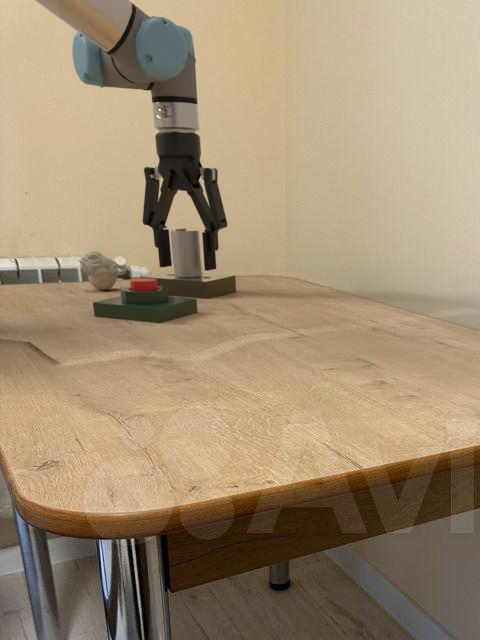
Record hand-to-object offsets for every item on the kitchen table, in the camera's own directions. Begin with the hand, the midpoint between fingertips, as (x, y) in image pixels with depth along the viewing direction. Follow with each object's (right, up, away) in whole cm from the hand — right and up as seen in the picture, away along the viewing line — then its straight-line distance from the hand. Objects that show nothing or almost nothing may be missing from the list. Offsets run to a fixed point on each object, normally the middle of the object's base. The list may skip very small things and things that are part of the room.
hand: (187, 268), depth 130 cm
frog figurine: (-17, -4, +3) cm, 17 cm away
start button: (-2, -10, -21) cm, 23 cm away
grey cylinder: (0, -1, 0) cm, 1 cm away
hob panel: (0, -4, +2) cm, 4 cm away
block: (-2, -13, -19) cm, 24 cm away
